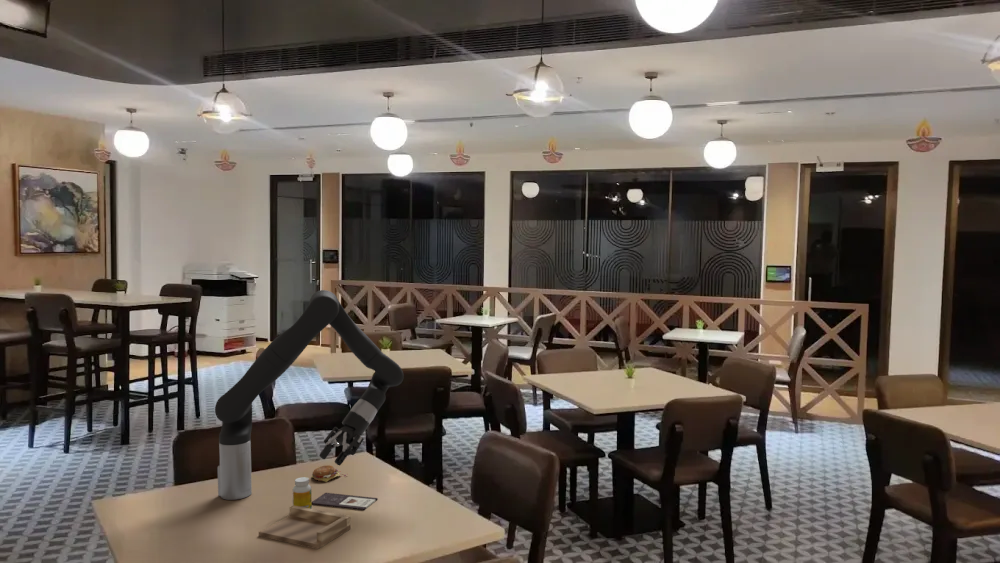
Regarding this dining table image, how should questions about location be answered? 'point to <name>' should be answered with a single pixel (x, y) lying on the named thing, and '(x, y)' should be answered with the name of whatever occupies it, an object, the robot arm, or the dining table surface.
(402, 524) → the dining table surface
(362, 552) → the dining table surface
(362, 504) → the chocolate bar
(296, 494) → the supplement bottle
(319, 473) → the hamburger
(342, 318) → the robot arm
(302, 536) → the wooden tray
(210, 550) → the dining table surface
